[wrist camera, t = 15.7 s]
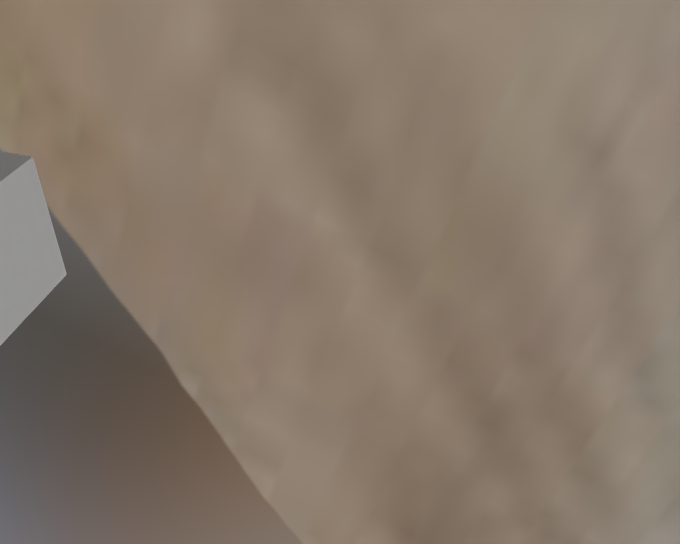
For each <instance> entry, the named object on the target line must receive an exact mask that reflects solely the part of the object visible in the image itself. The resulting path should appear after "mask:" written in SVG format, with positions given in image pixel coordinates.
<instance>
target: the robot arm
mask: <svg viewBox="0 0 680 544" xmlns="http://www.w3.org/2000/svg"><path fill="white" fill-rule="evenodd" d="M65 276H66V270H65V267H64V264H63V260H62V257H61V253H60V250H59V246H58V243H57V239H56V236H55V232H54V229H53V226H52V222H51V219H50V215H49V212H48V208H47V205H46V201H45V198H44V194H43V191H42V187H41V184H40V180H39V177H38V174H37V170H36V167H35V163H34V160H33V157H31V156H25V155H19V154H13V153H8V152H2V151H0V345H1V344H2V343H3V342H4V341H5V340H6V339H7V338H8V337H9V336H10V335H11V333H12V332H13V331H14V330H15V329H16V328H17V327H18V326H19V325H20V324H21V323H22V322H23V320H24V319H25V318H26V317H27V316H28V315H29V314H30V313H31V312H32V311H33V310H34V308H36V307H37V305H39V303H40V302H41V301H42V300H43V299H44V298H45V297H46V296H47V295H48V294H49V293H50V292H51V290H53V288H54V287H55V286H56V285H57V284H58V283H59V282H60V281H61V280H62V279H63V278H64V277H65Z"/></svg>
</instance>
